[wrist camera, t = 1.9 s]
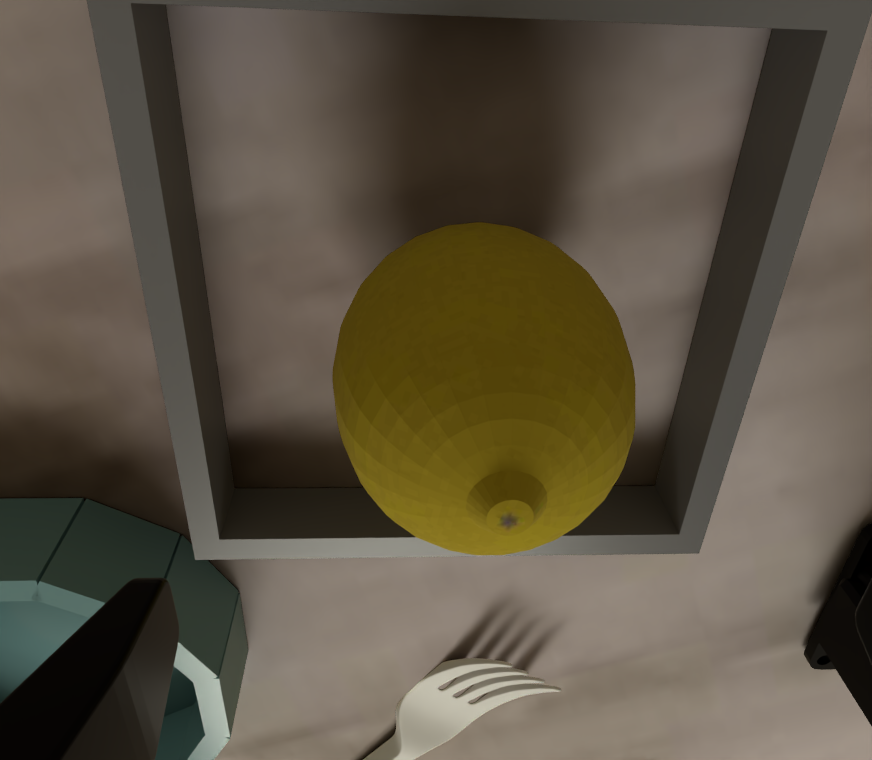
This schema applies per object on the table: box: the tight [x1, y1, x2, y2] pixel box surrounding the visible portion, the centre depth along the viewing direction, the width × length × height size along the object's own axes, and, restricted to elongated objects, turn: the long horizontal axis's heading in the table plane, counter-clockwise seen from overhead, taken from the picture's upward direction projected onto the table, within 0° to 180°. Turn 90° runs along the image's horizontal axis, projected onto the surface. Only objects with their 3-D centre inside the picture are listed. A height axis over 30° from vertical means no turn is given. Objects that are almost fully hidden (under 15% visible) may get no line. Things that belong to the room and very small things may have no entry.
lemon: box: [333, 222, 635, 555], centre depth 13 cm, size 6×6×8 cm
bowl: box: [0, 498, 248, 760], centre depth 21 cm, size 10×10×3 cm
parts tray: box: [87, 0, 872, 560], centre depth 16 cm, size 13×13×2 cm
